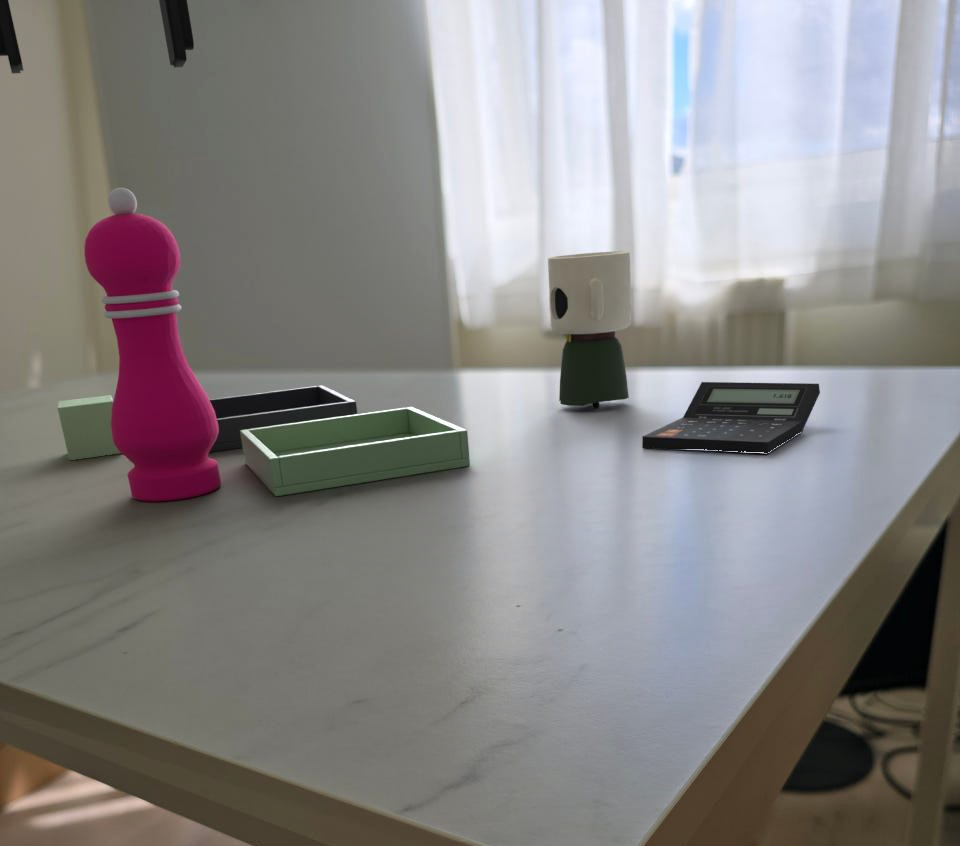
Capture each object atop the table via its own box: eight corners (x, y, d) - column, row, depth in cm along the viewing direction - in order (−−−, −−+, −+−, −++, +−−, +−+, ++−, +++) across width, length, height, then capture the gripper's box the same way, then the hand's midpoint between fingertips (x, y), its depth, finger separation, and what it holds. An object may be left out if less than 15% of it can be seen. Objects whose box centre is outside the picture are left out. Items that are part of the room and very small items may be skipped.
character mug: (550, 400, 98) (543, 256, 93) (624, 394, 98) (621, 249, 93) (559, 420, 88) (552, 259, 83) (642, 413, 88) (639, 252, 83)
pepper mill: (156, 479, 77) (100, 193, 70) (244, 477, 76) (196, 183, 68) (105, 505, 71) (37, 191, 63) (200, 503, 69) (142, 181, 62)
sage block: (69, 460, 87) (57, 407, 86) (69, 452, 91) (57, 401, 90) (123, 453, 89) (113, 400, 87) (121, 445, 93) (110, 394, 91)
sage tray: (275, 496, 69) (269, 458, 68) (245, 462, 81) (239, 430, 80) (470, 465, 74) (467, 430, 73) (415, 438, 85) (412, 406, 84)
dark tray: (196, 454, 86) (191, 423, 85) (180, 431, 97) (175, 403, 96) (359, 430, 90) (356, 401, 89) (325, 411, 102) (322, 385, 101)
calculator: (642, 448, 75) (641, 407, 74) (703, 418, 84) (703, 381, 83) (767, 454, 70) (768, 410, 69) (818, 422, 79) (820, 382, 78)
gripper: (182, -243, 63) (231, 71, 69) (-130, -260, 58) (-46, 82, 64) (196, -303, 56) (248, 51, 63) (-155, -328, 51) (-59, 61, 57)
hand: (99, 66), depth 63 cm, fingers open, 9 cm apart
